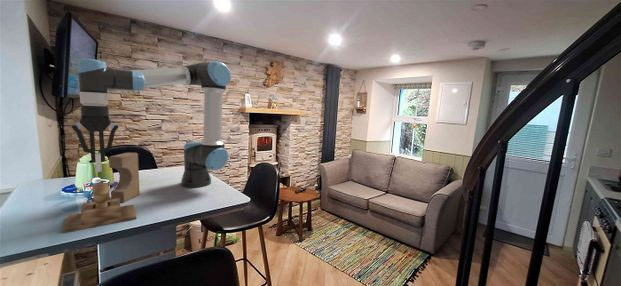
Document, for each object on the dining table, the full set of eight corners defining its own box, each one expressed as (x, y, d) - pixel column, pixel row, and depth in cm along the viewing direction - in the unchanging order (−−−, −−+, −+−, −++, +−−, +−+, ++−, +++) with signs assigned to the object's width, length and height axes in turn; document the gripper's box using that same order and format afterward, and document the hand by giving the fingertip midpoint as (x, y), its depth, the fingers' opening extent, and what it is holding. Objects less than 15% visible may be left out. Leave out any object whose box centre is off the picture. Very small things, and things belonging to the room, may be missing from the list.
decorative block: (123, 202, 110) (120, 157, 108) (110, 202, 110) (107, 156, 108) (140, 194, 121) (138, 152, 119) (128, 193, 121) (126, 152, 119)
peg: (109, 212, 98) (107, 182, 97) (109, 216, 95) (107, 185, 93) (94, 214, 96) (92, 183, 94) (94, 219, 92) (92, 186, 91)
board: (133, 206, 107) (133, 195, 106) (136, 218, 96) (135, 206, 95) (68, 217, 95) (67, 204, 94) (62, 232, 84) (61, 218, 83)
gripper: (117, 105, 97) (120, 166, 100) (70, 104, 89) (75, 170, 92) (118, 106, 91) (121, 171, 94) (67, 104, 83) (73, 175, 86)
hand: (99, 170), depth 93 cm, fingers closed
